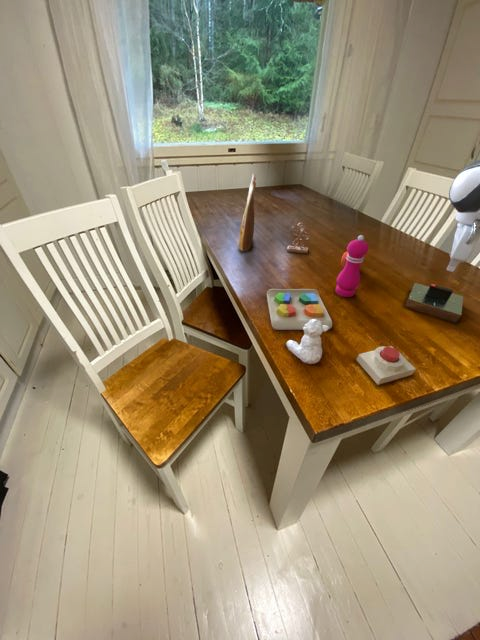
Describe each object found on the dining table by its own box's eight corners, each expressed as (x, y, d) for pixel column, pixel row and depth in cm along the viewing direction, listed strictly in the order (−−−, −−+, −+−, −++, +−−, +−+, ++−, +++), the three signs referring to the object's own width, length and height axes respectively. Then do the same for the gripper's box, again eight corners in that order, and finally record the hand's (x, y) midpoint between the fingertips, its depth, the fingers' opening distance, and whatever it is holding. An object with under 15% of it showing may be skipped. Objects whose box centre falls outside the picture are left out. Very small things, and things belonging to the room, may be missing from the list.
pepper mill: (329, 289, 94) (343, 232, 82) (345, 284, 97) (362, 229, 84) (343, 300, 89) (361, 241, 77) (360, 295, 92) (380, 237, 79)
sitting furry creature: (318, 341, 74) (328, 305, 66) (331, 365, 67) (344, 328, 60) (285, 345, 73) (290, 308, 65) (295, 369, 66) (302, 332, 58)
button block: (388, 351, 71) (394, 340, 68) (412, 374, 65) (419, 363, 63) (356, 360, 69) (360, 349, 66) (377, 384, 63) (383, 373, 60)
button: (389, 350, 66) (392, 345, 65) (400, 361, 64) (403, 355, 63) (377, 353, 65) (379, 348, 64) (387, 364, 63) (390, 359, 62)
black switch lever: (447, 299, 85) (453, 289, 83) (447, 301, 84) (453, 291, 82) (426, 293, 88) (431, 283, 85) (425, 295, 86) (430, 285, 84)
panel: (458, 303, 88) (463, 295, 86) (456, 322, 81) (461, 314, 79) (411, 290, 95) (415, 282, 93) (404, 306, 87) (408, 298, 85)
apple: (361, 274, 103) (368, 254, 98) (339, 272, 104) (345, 252, 99) (359, 264, 109) (365, 245, 104) (338, 262, 110) (343, 244, 105)
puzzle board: (317, 294, 92) (319, 285, 90) (332, 330, 77) (335, 321, 75) (266, 293, 92) (266, 284, 90) (271, 330, 77) (272, 320, 75)
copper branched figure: (307, 249, 120) (312, 222, 112) (307, 253, 117) (312, 225, 109) (287, 247, 121) (290, 220, 114) (286, 251, 118) (290, 223, 111)
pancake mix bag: (257, 237, 130) (260, 171, 113) (251, 254, 115) (255, 182, 98) (243, 236, 131) (244, 170, 113) (236, 253, 116) (236, 181, 99)
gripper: (494, 229, 62) (462, 282, 70) (492, 207, 75) (465, 254, 84) (461, 223, 64) (434, 275, 73) (464, 203, 78) (441, 249, 86)
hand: (451, 263), depth 78 cm, fingers open, 8 cm apart
